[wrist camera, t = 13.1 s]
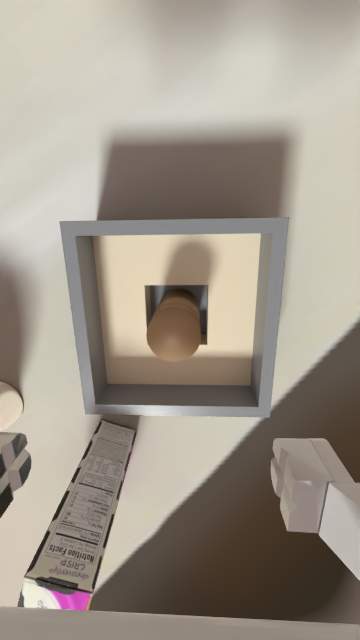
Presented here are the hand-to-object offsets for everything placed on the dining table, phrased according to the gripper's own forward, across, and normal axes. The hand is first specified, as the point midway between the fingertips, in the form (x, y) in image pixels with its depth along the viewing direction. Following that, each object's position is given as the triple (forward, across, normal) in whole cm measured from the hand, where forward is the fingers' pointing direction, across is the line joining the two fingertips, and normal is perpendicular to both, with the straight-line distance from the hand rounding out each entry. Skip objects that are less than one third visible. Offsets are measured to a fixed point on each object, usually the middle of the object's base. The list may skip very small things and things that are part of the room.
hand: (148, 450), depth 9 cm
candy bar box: (+20, +9, +20) cm, 30 cm away
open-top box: (+20, 0, 0) cm, 20 cm away
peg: (+19, 0, 0) cm, 19 cm away
